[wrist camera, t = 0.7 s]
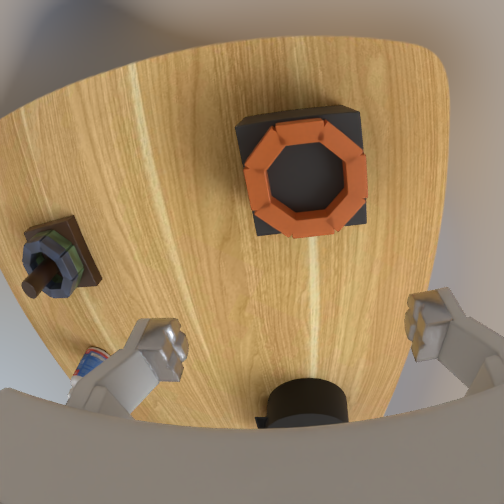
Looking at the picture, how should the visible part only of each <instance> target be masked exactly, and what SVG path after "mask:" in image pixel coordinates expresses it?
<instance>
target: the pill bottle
mask: <svg viewBox="0 0 504 504" xmlns="http://www.w3.org/2000/svg"><path fill="white" fill-rule="evenodd" d="M109 357H110V355H109V354H107V353H106V352H105V351H103V350H101V349H99V348H95V347H91V348H88V349H87V351H86V352H85V354H84V356H83V358H82V360H81V361H80V363H79V365H78V367H77V369H76V371H75V372H74V374H73V376H72V378H71V386H72V389H71V390H70V392H69V394H68V398H69V397H70V395H71V393H72V391H73V389H74V387H75V385H76V383H77V381H79V380H80V379H81V378H83V377H84V376H85V375H87V374H88V373H89V372H90V371H92V370H93V369H94V368H96V367H97V366H98V365H100V364H101V363H102V362H104V361H105V360H106V359H108V358H109Z"/></svg>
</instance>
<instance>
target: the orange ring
mask: <svg viewBox="0 0 504 504" xmlns="http://www.w3.org/2000/svg"><path fill="white" fill-rule="evenodd" d="M315 142H320V143H321V144H323V145H324V146H325V147H326V148H328V149H329V150H330V151H332V152H333V153H334V154H335V155H337V156H338V157H339V158H340V159H342V164H343V176H344V188H343V190H342V191H341V192H340V193H339V194H338V195H337V196H336V198H335V199H334V200H333V201H332V202H331V203H330V204H329V205H328V207H327V208H326V209H324V210H315V211H306V212H298V213H296V212H294V211H293V210H291V209H290V208H288V207H287V206H286V205H284V204H283V203H281V202H280V201H278V200H277V199H276V198H274V197H273V196H271V190H270V184H269V179H268V173H267V169H268V168H269V167H270V166H271V164H272V163H273V162H274V160H275V159H276V158H277V156H278V155H279V154H280V153H281V151H282V150H283V149H284V147H285V146H290V145H298V144H306V143H315ZM244 165H245V167H244V169H243V172H244V176H245V181H246V186H247V191H248V196H249V201H250V206H251V210H252V211H254V210H255V213H254V215H256V216H257V217H259V218H260V219H262V220H263V221H265V222H266V223H268V224H269V225H271V226H272V227H274V228H275V229H277V230H278V231H280V232H281V233H282V234H284V235H285V236H287V237H290V236H291V235H292V237H293V238H303V237H312V236H320V235H329V234H334V233H335V232H334V229H335V230H336V231H337V232H339V231H340V230H341V229H342V228H343V227H344V225H345V224H346V223H347V222H348V221H349V220H350V219H351V218H352V217H353V216H354V215H355V213H356V212H357V211H358V210H359V209H360V208H361V207H362V206H363V205H364V204H365V202H366V200H365V199H364V198H368V186H367V166H366V155H365V154H364V153H363V150H362V149H361V148H360V147H359V146H358V145H357V144H355V143H354V142H353V141H352V140H351V139H349V138H348V137H347V136H346V135H345V134H343V133H342V132H341V131H340V130H338V129H337V128H336V127H335V126H333V125H332V124H331V123H330V122H328V121H327V120H326V119H325V120H324V121H323V120H322V119H321V118H313V119H304V120H296V121H288V122H280V123H276V126H275V127H273V126H271V127H270V128H269V130H268V131H267V132H266V134H265V135H264V136H263V138H262V139H261V140H260V142H259V143H258V144H257V146H256V147H255V148H254V150H253V151H252V153H251V154H250V155H249V157H248V158H247V160H246V162H245V164H244Z"/></svg>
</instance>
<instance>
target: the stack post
mask: <svg viewBox="0 0 504 504" xmlns="http://www.w3.org/2000/svg"><path fill="white" fill-rule="evenodd" d="M24 235H25V237H26V240H27V243H25V245H24V249H23V259H22V262H23V265H24V267H25V269H26V271H27V273H28V277H27V278H26V279H25V280H24V281H23V282H22V289H23V291H24V292H25V293H26V295H27V296H29V297H30V298H33V299H34V298H36V297H37V296H38V295H39V293H40V292H41V291H43V292H44V293H46V294H47V295H48V296H50V297H53V298H68V297H69V296H70V295H71V294H72V292H73V291H74V290H75V288H76V287H90V286H97V285H98V284H99V283H100V281H101V280H102V278H101V276H100V274H99V271H98V269H97V267H96V265H95V263H94V261H93V259H92V257H91V254H90V252H89V250H88V248H87V245H86V243H85V241H84V239H83V236H82V234H81V232H80V229H79V227H78V224H77V222H76V219H75V217H74V215H73V216H69V217H66V218H62V219H58V220H55V221H51V222H47V223H44V224H40V225H37V226H33V227H30V228H29V229H27V230H26V231H25V232H24Z"/></svg>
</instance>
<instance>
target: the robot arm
mask: <svg viewBox="0 0 504 504" xmlns="http://www.w3.org/2000/svg"><path fill="white" fill-rule="evenodd" d="M407 304H408V307H409V309H408V311H407V312H406V313H405V320H404V322H405V331H406V335H407V338H408V339H409V340H410V341H412V346H411V349H412V352H413V355H414V358H415V361H416V362H422V361H427V360H432V359H436V358H438V361H440V362H441V363H442V364H443V365H444V366H445V367H446V368H447V369H448V370H449V371H451V372H452V373H453V374H454V375H455V376H456V377H457V378H458V379H459V380H461V382H462V383H464V384H465V385H466V386H467V387H468V388H469V389H468V391H467V393H466V395H465V396H464V397H463V398H460V399H457V400H453V401H450V402H446V403H443V404H439V405H436V406H431V407H427V408H423V409H419V410H415V411H410V412H406V413H401V414H396V415H391V416H386V417H380V418H375V419H369V420H362V421H355V422H348V423H340V424H331V425H321V426H310V427H295V428H272V429H228V428H206V427H191V426H180V425H170V424H161V423H153V422H146V421H139V420H135V419H134V418H133V417H132V416H131V415H130V413H131V412H132V411H133V410H134V409H135V408H136V407H137V406H138V405H139V404H140V403H141V402H142V401H143V400H144V398H145V397H146V396H147V395H148V394H149V393H150V392H151V391H152V390H153V389H154V388H155V387H156V386H157V385H158V383H159V381H170V382H180V379H181V375H182V372H183V369H184V367H183V365H182V362H183V361H184V360H185V359H186V358H187V356H188V349H189V344H188V340H187V337H186V335H185V334H184V333H183V332H181V331H180V327H181V324H180V322H179V321H178V319H176V318H151V319H142V318H141V319H139V320H138V321H137V323H136V325H135V327H134V328H133V330H132V332H131V334H130V336H129V338H128V340H127V342H126V344H125V346H124V349H119V350H118V351H117V352H115V353H114V354H113V355H111V356H110V357H109V358H108V359H106V360H105V361H104V362H102V363H101V364H100V365H98V366H97V367H96V368H94V369H93V370H92V371H90V372H89V373H88V374H87V375H85V376H84V377H83V378H81V379H80V380H79V381H77V383H76V385H75V387H74V389H73V391H72V393H71V395H70V397H69V399H68V401H67V403H66V405H62V404H58V403H55V402H52V401H48V400H45V399H42V398H38V397H35V396H32V395H29V394H26V393H23V392H20V391H17V390H15V389H12V388H4V389H2V390H1V391H0V504H504V337H503V336H501V335H499V334H498V333H496V332H495V331H493V330H491V329H489V328H488V327H486V326H485V325H483V324H481V323H480V322H478V321H476V320H475V319H473V318H471V317H466V315H465V313H464V312H463V310H462V308H461V307H460V305H459V303H458V301H457V300H456V298H455V296H454V295H453V293H452V292H451V290H450V289H449V288H448V287H446V288H440V289H435V290H431V291H425V292H420V293H414V294H410V295H409V297H408V301H407Z"/></svg>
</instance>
